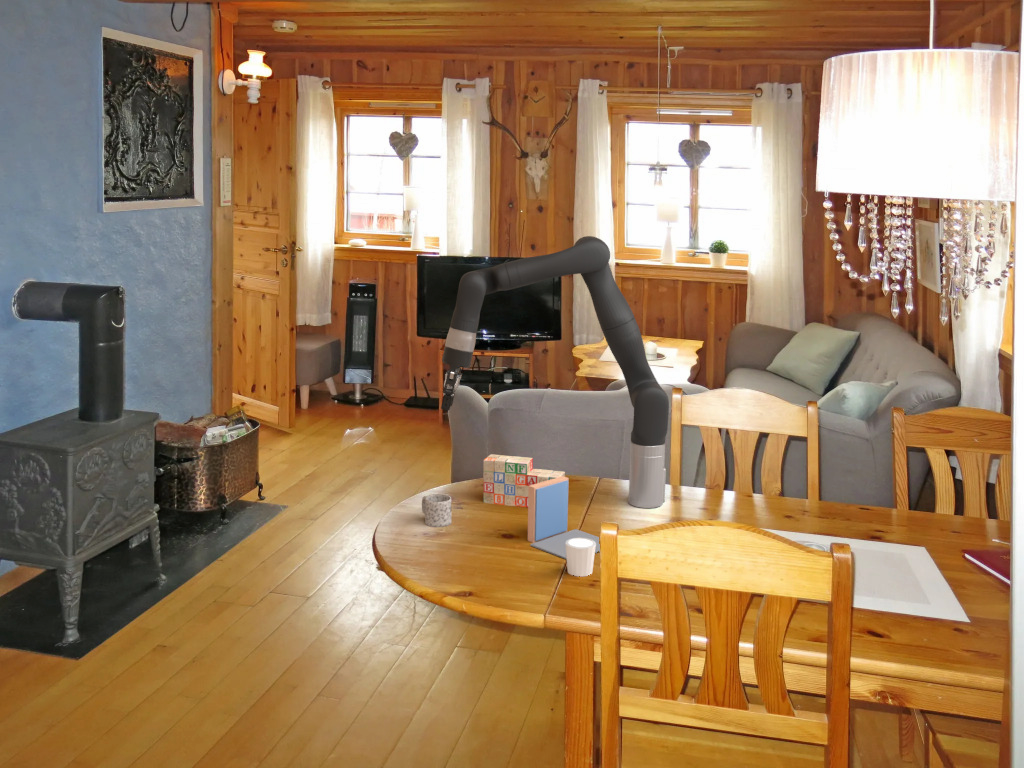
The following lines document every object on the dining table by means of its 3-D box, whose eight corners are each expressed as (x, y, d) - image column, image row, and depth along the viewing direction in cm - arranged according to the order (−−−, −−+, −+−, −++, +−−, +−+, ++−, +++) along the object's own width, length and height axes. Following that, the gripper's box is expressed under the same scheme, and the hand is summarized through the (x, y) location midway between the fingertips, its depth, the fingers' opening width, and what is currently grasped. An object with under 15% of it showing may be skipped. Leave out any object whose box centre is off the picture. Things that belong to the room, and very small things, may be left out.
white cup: (593, 565, 237) (594, 537, 235) (596, 577, 230) (597, 548, 229) (563, 566, 237) (564, 537, 235) (566, 577, 230) (566, 548, 228)
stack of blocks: (564, 504, 280) (565, 460, 277) (558, 511, 274) (559, 467, 271) (490, 496, 286) (490, 453, 284) (482, 503, 280) (482, 459, 278)
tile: (561, 529, 260) (562, 476, 258) (568, 531, 259) (569, 478, 256) (527, 540, 252) (528, 485, 249) (534, 543, 251) (535, 488, 248)
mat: (575, 530, 260) (575, 528, 260) (618, 545, 250) (618, 543, 250) (530, 545, 249) (530, 544, 249) (572, 562, 239) (572, 560, 239)
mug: (456, 523, 264) (456, 498, 262) (435, 529, 259) (435, 504, 258) (433, 513, 271) (433, 489, 270) (412, 518, 267) (412, 494, 265)
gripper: (471, 352, 261) (458, 414, 263) (475, 348, 275) (462, 407, 277) (442, 346, 261) (429, 408, 263) (447, 342, 275) (435, 401, 277)
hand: (446, 407), depth 270 cm, fingers open, 8 cm apart
